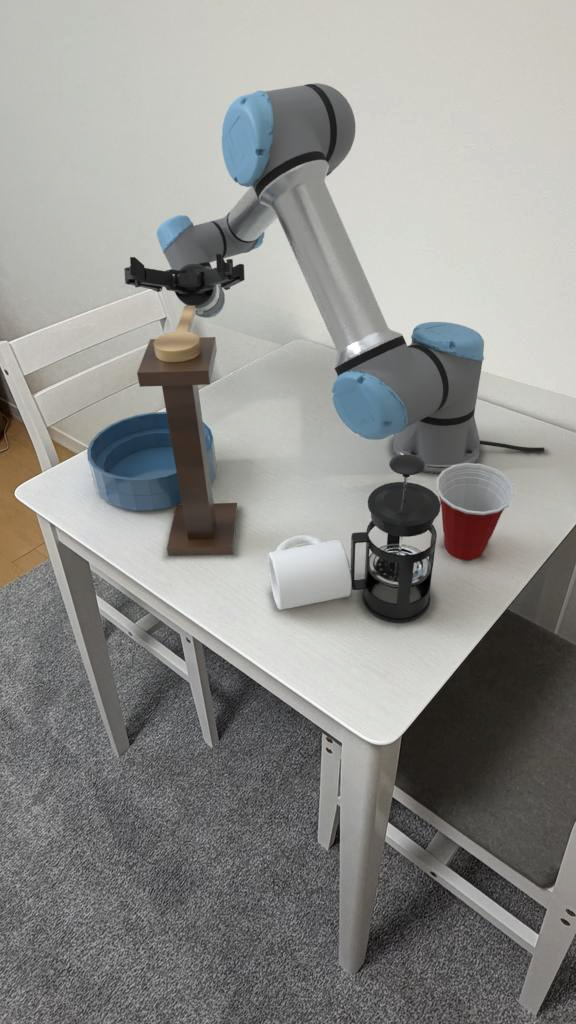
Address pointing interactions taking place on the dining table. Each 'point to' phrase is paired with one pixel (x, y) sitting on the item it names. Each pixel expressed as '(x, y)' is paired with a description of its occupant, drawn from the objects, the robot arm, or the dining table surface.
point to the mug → (308, 572)
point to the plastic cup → (471, 506)
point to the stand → (191, 454)
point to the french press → (398, 544)
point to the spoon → (179, 340)
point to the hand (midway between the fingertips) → (175, 264)
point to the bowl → (139, 463)
